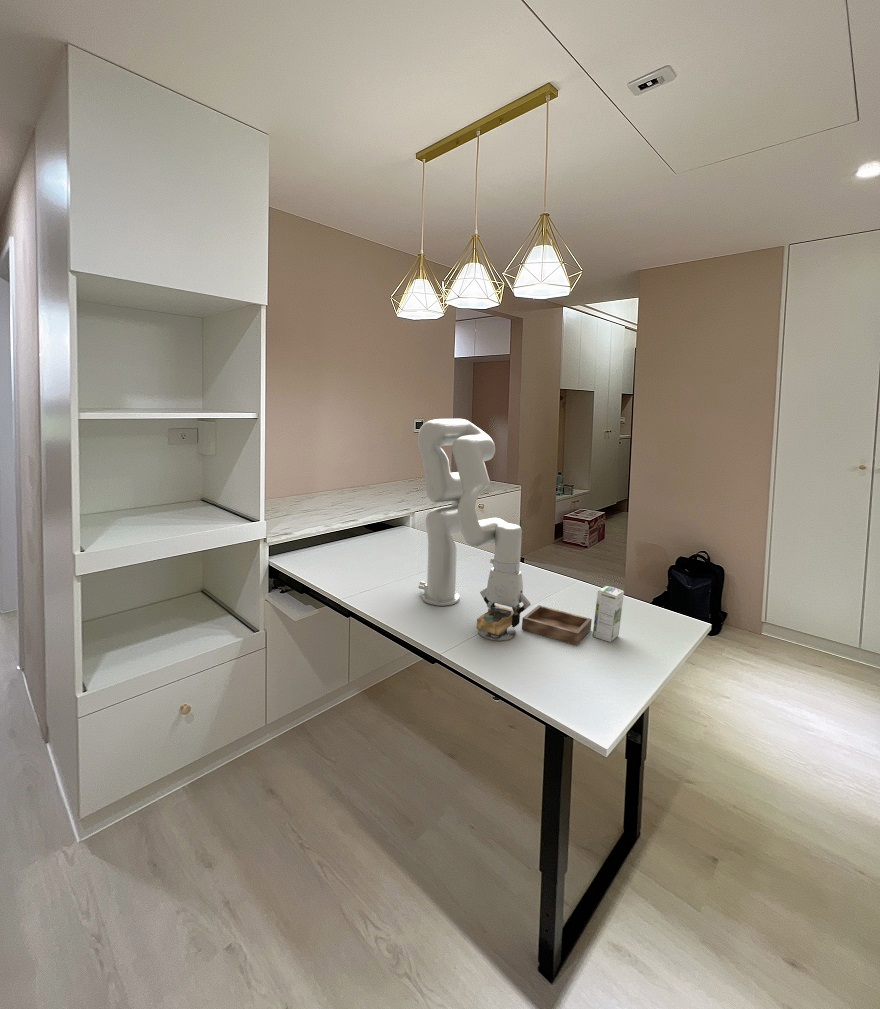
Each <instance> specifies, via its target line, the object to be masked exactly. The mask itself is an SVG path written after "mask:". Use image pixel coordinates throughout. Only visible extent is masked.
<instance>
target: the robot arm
mask: <svg viewBox="0 0 880 1009" xmlns="http://www.w3.org/2000/svg"><path fill="white" fill-rule="evenodd" d="M444 446H446V447H447V446H451V450H452V455H453V458H454V462H455V465H456V470H457V471H456V472H452V471H451V468H450V460H449V458H448V455H447V454H446V452H445V451H444V449H443V448H442V447H444ZM417 447H418V451H419V454H420V456H421V461H422V465H423V466H422V467H423V476H424V483H425V490H426V491H425V492H426V496H427V498H428V500H429V501H430V502H431V503H434V504H444V503H445V504H446V503H450V502H451V505H447V506H441V507H436V508H433V509H432V510H430V511H429V512H427V513H428V514H427V515H426V517H425V528H426V535H427V574H426V576H427V577H426V578H427V580H426V581H424V580H421V581H419V583H418V584H419V585H418V586H417V587H418V589H420V590H423V593H422V595H421V596H422V598H421V600H422V601H424V602H425V603H427V604H429V605H432V606H438V607H439V606H441V607H443V606H445V607H447V606H451V605H455V604H457V603H458V602H459V601H460V599H461V597H460V594H459V593H458V592H456V579H457V578H456V577H457V557H458V556H457V555H458V554H457V551H458V550H457V548H458V547H457V545H456V542H455V541H454V538H453V536H454V535H457V534H461V533H462V534H461V535H462V536H463V538H464V540H465V543H467V544H468V546H471V547H474V548H477V547H483V546H487V545H491V544H494V555H493V558H490V560H489V561H490V562H489V563H490V564H492V565H493V566H492V567H491V568H490V571H489V575H488V578H487V579H488V580H487V587H486V588H484V589H482V590H481V591H479V592H480V593H479V594H480V596H481V597H482V598H483V601H484V602H485V604H486V607H487V610H488V609H489V608H490V607H496V606H497V605H495V604H498V605H502V606H505V607H508V608H511V610H513V612H514V614H513V616H512V625H511V627H512V628H513V629H515V628H516V627H517V626H518V625H519V624H520V619H521V613H522V612H524V611H526V609H528V608H530V606H531V605H532V604H531V602H530V601H529V599H528V598H526V596H525V595H524V581H523V574H522V571H521V570H520V567H521V551H522V534H523V530H522V527H521V526H520V525H518V524H515V523H509V522H507V521H505V520H504V519H501V518H500V517H490V518H484V519H480V520H479V519H478V517H477V510H476V505H477V504H476V503H477V500H478V498H479V496H480V495H481V493H482V492H483V491H484V490H485V489H487V488H488V487H489V486H490V482H491V480H490V478H489V475H488V471H487V467H486V464H485V462H487V461H491V459H493V458H494V456H495V454H496V445H495V442H494V440H493V439H492V437H491V436H490V435H489V434H488V433H486V432H485V431H483V430H482V429H481V428H480V427H478V426H476V425H475V424H474V423H472V422H471V421H469V420H467V419H464V418H437V419H436V418H435V419H431V420H427V421H426V422H424V423H423V424H422V426H420V428H419V431H418V434H417ZM521 603H522V604H523V605H522V606H521V605H520V604H521Z"/></svg>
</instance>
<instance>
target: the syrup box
mask: <svg viewBox="0 0 880 1009" xmlns="http://www.w3.org/2000/svg"><path fill="white" fill-rule="evenodd" d="M596 594H597V595H596V602H595V603H596V604H595V612H594V621H593V628H592V629H593V630H592V637H593V638H596V639H599V640H603V641H606V642H608V643H612V642H613V641H614V640H615V639H617V638H618V637H619V634H620V626H621V620H622V618H621V617H622V611H623V603H624V602H623V601H624V597H625V596H624V595H625V591H624V590H622V589H619V588H616V587H613V586H608V585H605V586H603V587H602V588H601V589H599V590H597V593H596Z"/></svg>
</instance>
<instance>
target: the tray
mask: <svg viewBox="0 0 880 1009" xmlns="http://www.w3.org/2000/svg"><path fill="white" fill-rule="evenodd" d="M592 621H593V620H592V618H589V617H585V616H581V615H578V614H574V613H570V612H567V611H563V610H559V609H555V608H551V607H547V606H543V605H539V604H538V605H537V606H536V607H534V608H533V609H532V610H531V611H530V612H528V613H527V614H526V615H524V616H523V617H522V619H521V630H524V631H527V632H530V633H534V634H537V635H541V636H544V637H547V638H551V639H554V640H557V641H561V642H564V643H567V644H572V645H575V646H578V645H579V644H580V643H581V641H583V639H584V638H585V637H586V636H587V635H588V634H589V633H590V631H591V630H592Z"/></svg>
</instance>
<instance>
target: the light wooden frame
mask: <svg viewBox="0 0 880 1009" xmlns="http://www.w3.org/2000/svg"><path fill="white" fill-rule="evenodd" d="M494 608H498V609H501V610H505V611H508V612H511V615H510V616H509V617H506V616H502V619H501V620H500V621H498V622H494V621H493V613H492V612H488V611H487V612H485V613H484V614H482V615H481V616H480V615H479V617H477V618H476V629H477V630H478V629H480V630H483V631H487V632H490V633H493V634H496V635H499V634H500V633H502V632H503V631H504V630H506V629H507V628H508V627H512V616H513V614H514V612H513V609H512V608H511V609H510V608H507V607H503V606H500V605H496V607H494Z"/></svg>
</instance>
